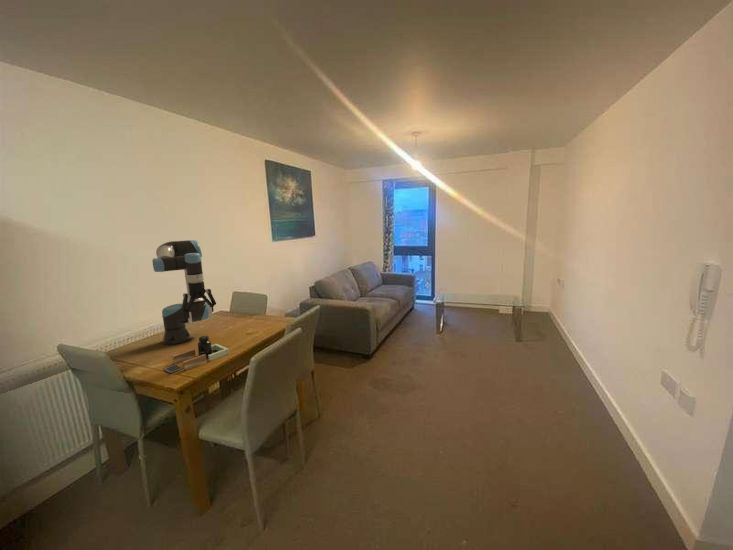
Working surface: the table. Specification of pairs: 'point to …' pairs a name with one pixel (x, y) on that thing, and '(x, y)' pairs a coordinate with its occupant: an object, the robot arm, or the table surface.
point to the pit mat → (173, 369)
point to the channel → (192, 362)
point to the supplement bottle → (204, 346)
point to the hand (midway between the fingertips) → (201, 320)
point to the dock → (220, 353)
